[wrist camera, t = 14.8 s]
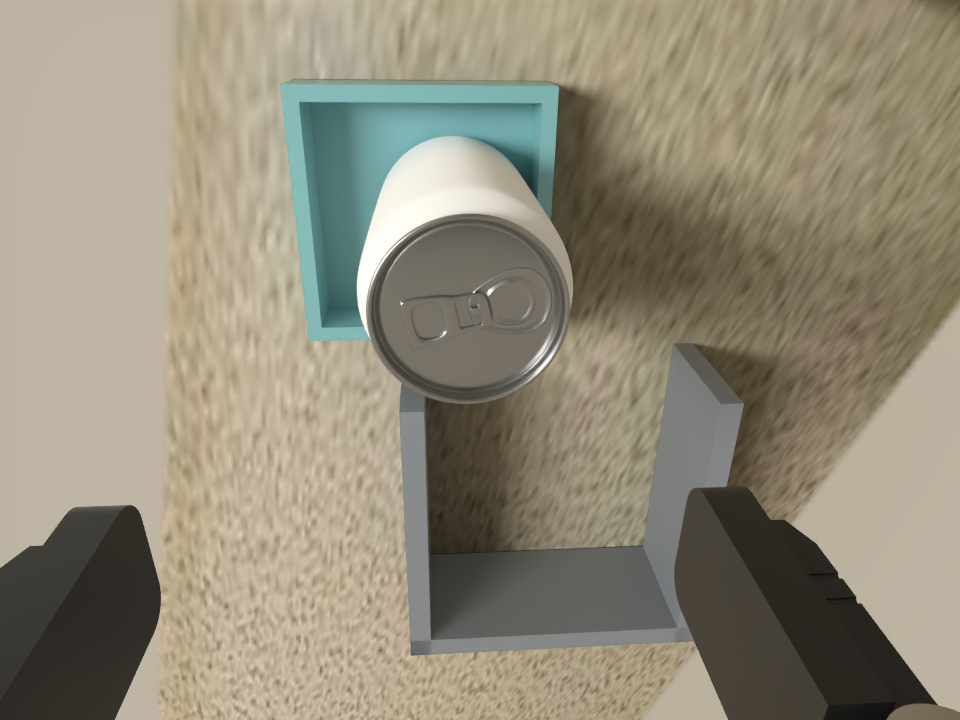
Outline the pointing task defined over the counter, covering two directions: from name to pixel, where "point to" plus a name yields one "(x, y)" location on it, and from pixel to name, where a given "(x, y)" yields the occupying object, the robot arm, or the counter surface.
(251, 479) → the counter surface
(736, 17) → the counter surface
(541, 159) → the tray
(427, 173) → the can
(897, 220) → the counter surface
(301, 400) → the counter surface
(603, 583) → the bay
